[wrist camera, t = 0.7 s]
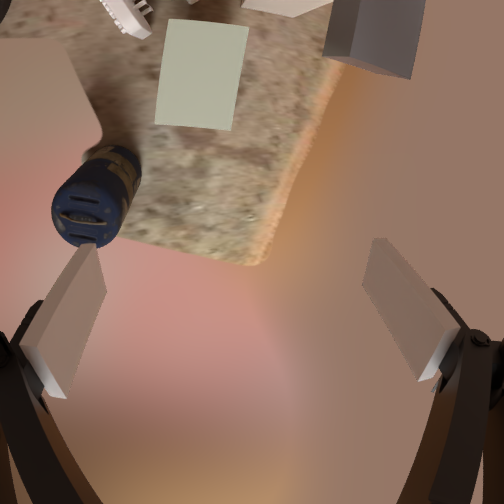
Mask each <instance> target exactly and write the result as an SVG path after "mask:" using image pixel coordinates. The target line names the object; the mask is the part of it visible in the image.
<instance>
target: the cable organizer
mask: <svg viewBox="0 0 504 504" xmlns="http://www.w3.org/2000/svg"><path fill="white" fill-rule="evenodd" d="M100 1H102V4H103V5H104V6H105V8H106V10H107V11H109V14H110V15H111V17H112V19H114V18H116V19H117V20H115V21H114V22H115V24H116V25H119V24H120V25H119V26H118V27H119V29H120V28H122V27H123V29H121V32H122V33H123V34H124V33H126V32H127V33H129V34H130V35H132V36H135V37H137V38H140V39H144V38H146V37H147V36H149V35H150V34H152V30H151V28H150V26H149V24H148V23H147V21H146V19H145V18H144V17H143V16H144V15H145V14H147V13H148V12H150V11H152V10H153V8H152V7H151V6H150V5H149V6H150V7H149V8H147V9H145V10H144V11H142V12H140V11H139V8H140V7H142V6H143V5H145V4H147V2H146V0H142V1H141V2H139V3H138V4H136V5H135V3H134V1H136V0H100ZM172 1H173V0H172ZM186 1H187V2H188V3H189V4H191V5H192V4H194V3H196V2H197V1H199V0H186ZM147 5H148V4H147ZM153 11H154V10H153Z"/></svg>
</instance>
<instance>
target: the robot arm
mask: <svg viewBox="0 0 504 504" xmlns="http://www.w3.org/2000/svg"><path fill="white" fill-rule="evenodd" d="M10 3H11V0H0V23H1V21H2V20H3V18H4V17H5V15H6V13H7V11H8V8H9V6H10ZM362 286H363V287H364V289H365V291H366V292H367V294H368V295H369V297H370V299H371V300H372V302H373V304H374V305H375V307H376V308H377V310H378V312H379V314H380V316H381V317H382V319H383V320H384V322H385V324H386V325H387V328H388V329H389V331H390V333H391V334H392V336H393V338H394V340H395V341H396V343H397V345H398V347H399V349H400V350H401V352H402V354H403V356H404V358H405V359H406V361H407V363H408V365H409V367H410V369H411V370H412V372H413V374H414V376H415V378H416V380H417V381H422V380H426V379H430V378H432V377H433V376H434V374H435V372H436V371H437V369H438V368H439V369H440V371H441V372H442V375H441V377H440V378H439V380H438V382H437V383H436V384H435V386H434V387H433V389H432V391H431V392H434V391H435V389H436V393H435V397H434V401H433V405H432V408H431V411H430V415H429V418H428V422H427V425H426V428H425V431H424V434H423V437H422V440H421V443H420V446H419V449H418V452H417V455H416V457H415V460H414V463H413V466H412V468H411V471H410V473H409V476H408V478H407V480H406V483H405V485H404V488H403V490H402V492H401V494H400V497H399V499H398V501H397V503H396V504H470V502H471V499H472V495H473V491H474V488H475V484H476V479H477V475H478V471H479V467H480V462H481V457H482V452H483V503H482V504H504V338H503V340H502V342H500V341H491V340H490V338H489V336H487V335H486V334H485V333H484V332H482V331H480V330H476V329H470V328H469V327H468V326H467V325H466V323H465V322H464V321H463V320H462V318H461V317H460V316H459V314H458V313H457V312H456V311H455V309H454V310H453V307H452V306H451V304H449V303H448V301H447V300H446V298H445V297H444V296H443V295H442V294H441V293H440V292H438V291H437V290H435V289H434V288H429V286H428V285H427V284H426V283H425V282H424V281H423V279H422V278H421V277H420V276H419V274H418V273H417V272H416V271H415V270H414V269H413V268H412V267H411V265H410V264H409V263H408V262H407V261H406V260H405V258H404V257H403V256H402V255H401V254H400V253H399V252H398V250H397V249H396V248H395V247H394V246H393V245H392V244H391V243H390V242H389V241H388V240H387V239H386V238H373V241H372V246H371V250H370V255H369V259H368V263H367V268H366V271H365V275H364V279H363V283H362ZM106 293H107V290H106V286H105V282H104V278H103V274H102V270H101V266H100V261H99V257H98V253H97V248H96V243H93V244H81V245H80V247H79V248H78V249H77V251H76V252H75V254H74V255H73V257H72V258H71V259H70V261H69V263H68V264H67V265H66V267H65V268H64V270H63V271H62V273H61V275H60V276H59V278H58V279H57V281H56V282H55V284H54V285H53V287H52V288H51V290H50V292H49V293H48V295H47V296H46V298H45V300H38V301H37V302H36V303H35V304H34V305H33V306H31V307H30V309H29V310H28V312H27V314H26V315H25V318H24V319H23V320H22V322H21V325H19V327H18V329H17V330H16V332H15V334H14V336H13V338H12V339H11V341H10V343H9V342H8V340H7V338H6V336H5V334H4V333H3V332H1V331H0V504H18V503H17V499H16V494H15V490H14V484H13V479H12V474H11V467H10V461H9V454H8V446H9V449H10V452H11V454H12V457H13V460H14V462H15V465H16V467H17V469H18V472H19V475H20V477H21V479H22V481H23V484H24V486H25V488H26V490H27V492H28V494H29V497H30V499H31V501H32V503H33V504H103V503H102V502H101V500H100V499H99V497H98V496H97V495H96V493H95V491H94V490H93V488H92V487H91V485H90V484H89V482H88V481H87V479H86V478H85V476H84V474H83V473H82V471H81V469H80V468H79V466H78V464H77V463H76V461H75V459H74V457H73V456H72V454H71V452H70V451H69V448H68V447H67V445H66V443H65V441H64V439H63V437H62V435H61V433H60V431H59V430H58V427H57V426H56V423H55V421H54V419H53V417H52V415H51V413H50V411H49V409H48V406H47V404H46V402H45V400H44V398H43V397H42V395H41V394H42V391H43V388H44V387H45V389H46V391H47V392H48V393H49V395H50V396H52V397H58V398H64V399H67V398H68V394H69V391H70V388H71V385H72V382H73V379H74V376H75V373H76V370H77V367H78V365H79V362H80V359H81V356H82V353H83V350H84V348H85V345H86V343H87V340H88V337H89V335H90V332H91V330H92V327H93V324H94V322H95V320H96V317H97V315H98V312H99V309H100V307H101V305H102V303H103V300H104V298H105V295H106ZM7 444H8V445H7Z"/></svg>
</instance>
